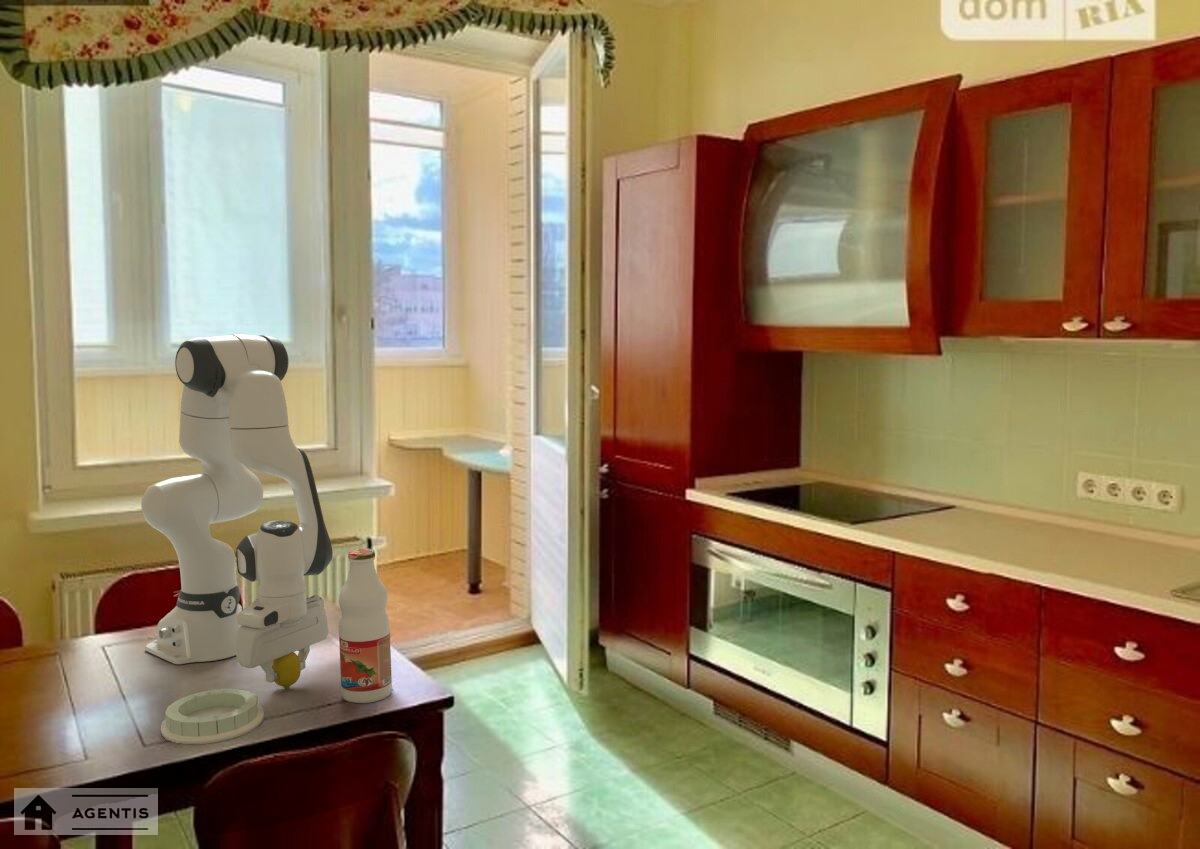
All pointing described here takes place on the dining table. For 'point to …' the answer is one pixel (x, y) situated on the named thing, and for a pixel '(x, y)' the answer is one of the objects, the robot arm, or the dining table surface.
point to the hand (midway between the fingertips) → (286, 675)
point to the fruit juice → (364, 632)
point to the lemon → (287, 669)
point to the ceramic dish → (212, 716)
